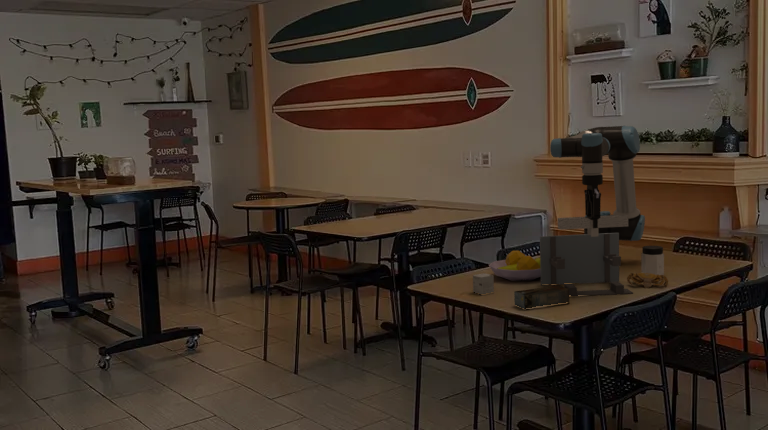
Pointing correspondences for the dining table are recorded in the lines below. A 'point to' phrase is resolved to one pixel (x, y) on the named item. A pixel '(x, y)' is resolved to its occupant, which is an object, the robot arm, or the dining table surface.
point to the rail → (586, 222)
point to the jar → (652, 260)
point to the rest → (614, 290)
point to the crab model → (647, 279)
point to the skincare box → (483, 283)
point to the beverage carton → (541, 296)
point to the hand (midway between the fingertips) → (593, 235)
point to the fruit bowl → (517, 267)
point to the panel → (579, 258)
